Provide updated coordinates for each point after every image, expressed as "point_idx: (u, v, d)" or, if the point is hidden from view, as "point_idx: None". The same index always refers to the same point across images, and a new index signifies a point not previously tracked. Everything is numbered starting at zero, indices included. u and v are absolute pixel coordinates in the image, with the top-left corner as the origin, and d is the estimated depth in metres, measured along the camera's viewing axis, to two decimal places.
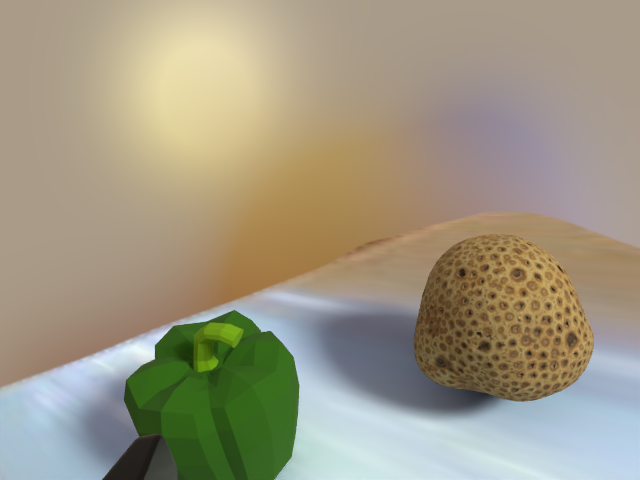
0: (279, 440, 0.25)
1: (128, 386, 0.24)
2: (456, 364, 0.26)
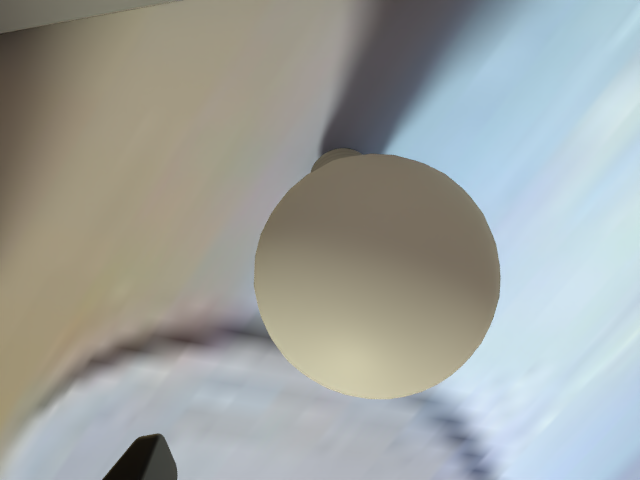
0: None
1: None
2: None
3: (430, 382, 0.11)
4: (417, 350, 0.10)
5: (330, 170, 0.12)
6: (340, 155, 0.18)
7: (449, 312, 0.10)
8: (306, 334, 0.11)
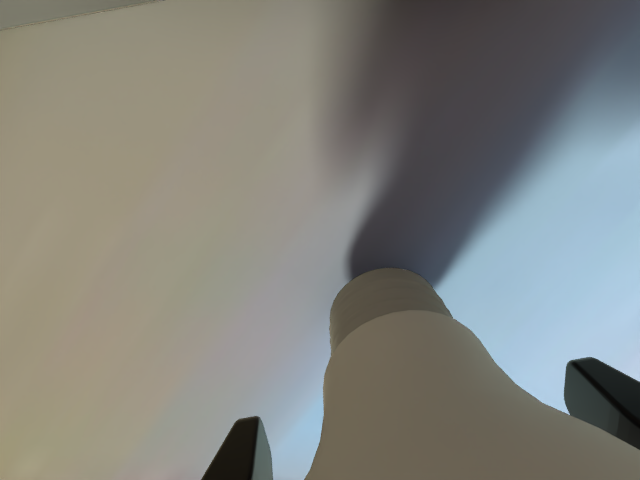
0: None
1: None
2: None
3: None
4: None
5: None
6: (388, 293, 0.10)
7: None
8: None
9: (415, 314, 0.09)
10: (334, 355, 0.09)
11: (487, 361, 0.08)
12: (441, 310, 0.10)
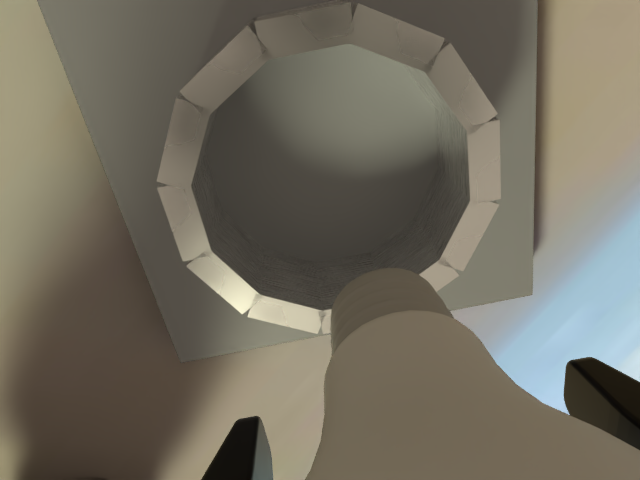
0: None
1: None
2: None
3: None
4: None
5: None
6: (389, 293, 0.10)
7: None
8: None
9: (416, 314, 0.09)
10: (335, 355, 0.09)
11: (488, 361, 0.08)
12: (442, 310, 0.10)
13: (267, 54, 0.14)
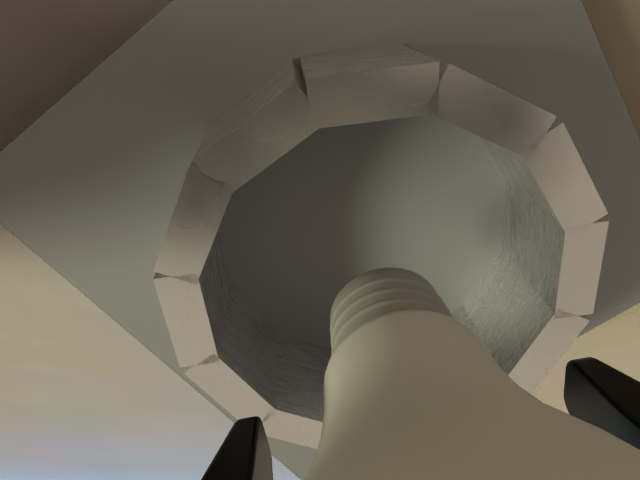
0: None
1: None
2: None
3: None
4: None
5: None
6: (389, 292, 0.10)
7: None
8: None
9: (415, 314, 0.09)
10: (334, 355, 0.09)
11: (487, 361, 0.08)
12: (441, 310, 0.10)
13: (529, 152, 0.11)
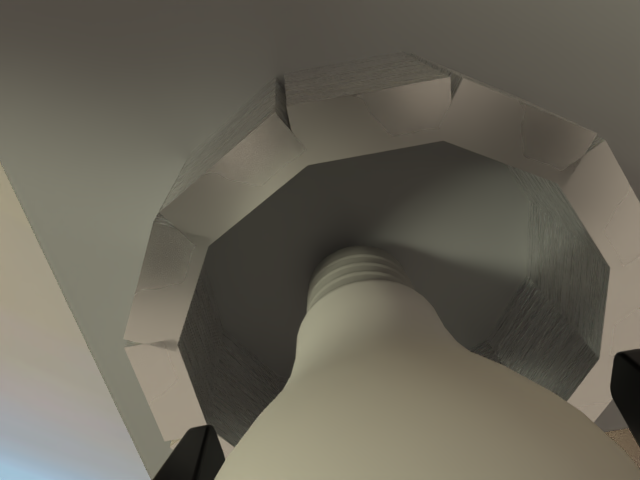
0: None
1: None
2: None
3: None
4: None
5: (335, 444, 0.05)
6: (355, 266, 0.11)
7: None
8: None
9: (373, 282, 0.10)
10: (304, 318, 0.10)
11: (430, 320, 0.09)
12: (401, 281, 0.11)
13: (617, 266, 0.10)
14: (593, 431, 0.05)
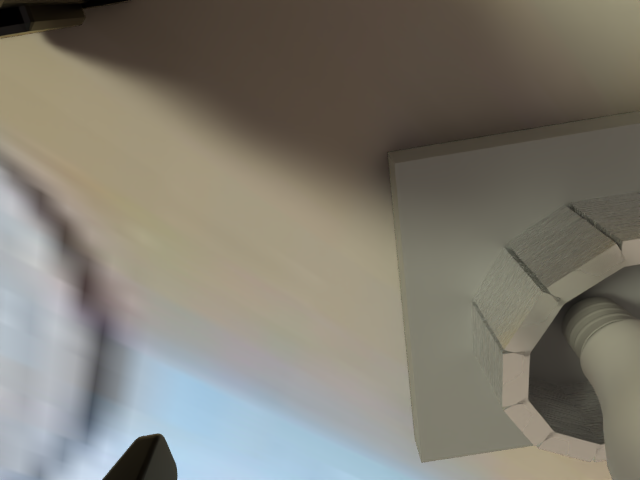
0: None
1: None
2: None
3: None
4: None
5: None
6: (608, 310, 0.20)
7: None
8: None
9: (633, 320, 0.19)
10: (591, 340, 0.19)
11: None
12: (636, 319, 0.20)
13: None
14: None
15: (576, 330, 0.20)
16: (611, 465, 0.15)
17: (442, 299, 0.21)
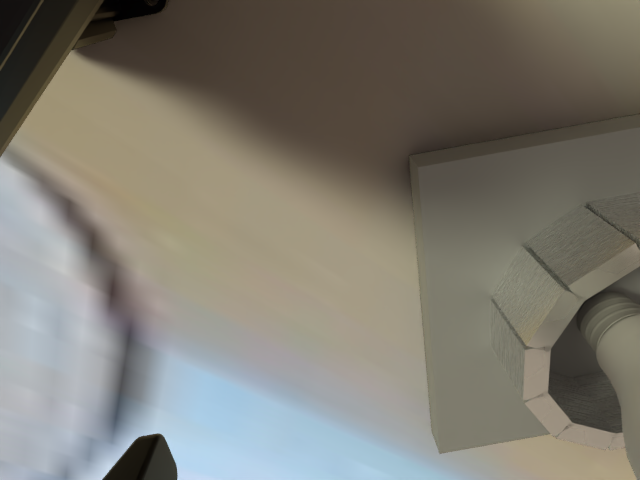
0: None
1: None
2: None
3: None
4: None
5: None
6: (622, 304, 0.20)
7: None
8: None
9: None
10: (608, 334, 0.20)
11: None
12: None
13: None
14: None
15: (592, 324, 0.21)
16: (631, 454, 0.16)
17: (462, 297, 0.22)
